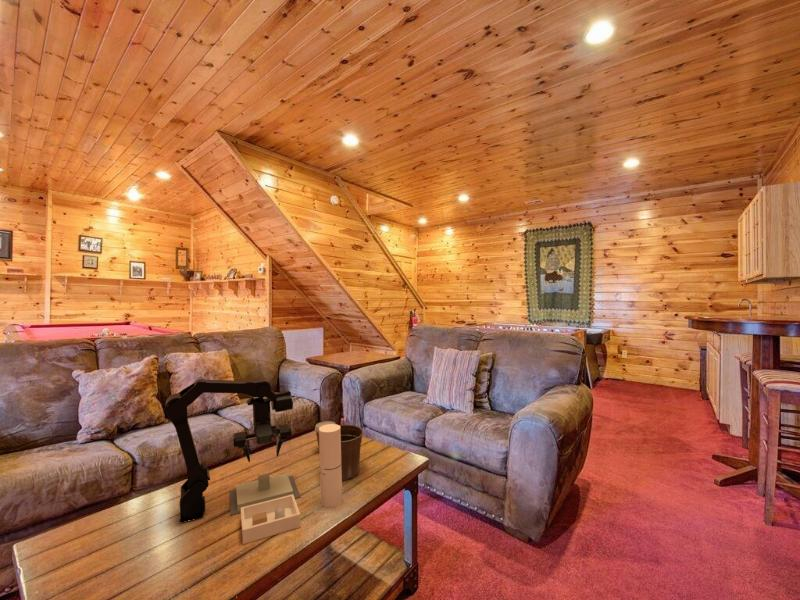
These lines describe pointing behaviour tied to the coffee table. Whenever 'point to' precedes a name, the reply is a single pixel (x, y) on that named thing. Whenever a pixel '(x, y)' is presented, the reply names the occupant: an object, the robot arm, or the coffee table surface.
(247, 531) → the box
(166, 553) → the coffee table surface
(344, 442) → the plant pot
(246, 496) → the lid
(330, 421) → the disposable coffee cup
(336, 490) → the cylindrical container
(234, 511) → the mat
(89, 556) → the coffee table surface
